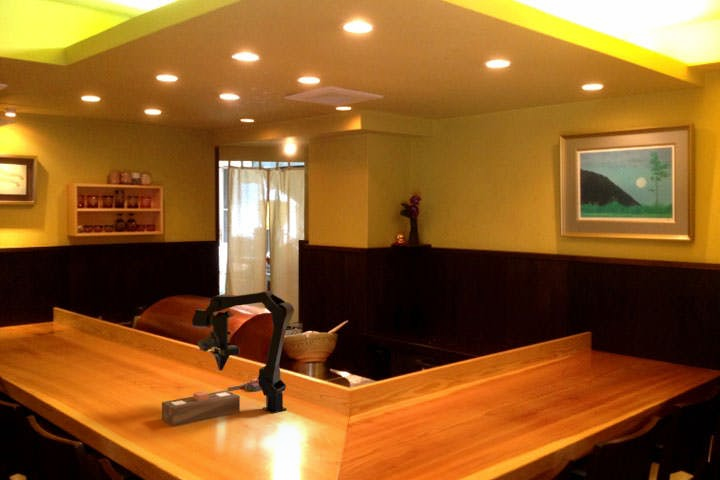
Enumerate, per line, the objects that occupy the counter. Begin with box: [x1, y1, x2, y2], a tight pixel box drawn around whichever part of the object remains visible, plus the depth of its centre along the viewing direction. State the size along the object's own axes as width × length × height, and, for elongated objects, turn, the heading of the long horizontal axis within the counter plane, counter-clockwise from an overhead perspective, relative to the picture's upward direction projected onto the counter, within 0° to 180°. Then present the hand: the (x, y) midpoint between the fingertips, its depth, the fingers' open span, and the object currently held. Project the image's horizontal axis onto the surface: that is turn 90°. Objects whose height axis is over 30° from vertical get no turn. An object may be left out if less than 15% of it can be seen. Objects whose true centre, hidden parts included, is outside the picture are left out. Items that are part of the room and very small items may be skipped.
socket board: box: [161, 389, 241, 427], centre depth 246 cm, size 10×25×6 cm, turn 129°
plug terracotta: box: [192, 390, 210, 402], centre depth 246 cm, size 4×4×6 cm
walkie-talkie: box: [227, 378, 262, 393], centre depth 283 cm, size 9×4×20 cm
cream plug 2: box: [215, 392, 231, 397], centre depth 252 cm, size 4×4×6 cm
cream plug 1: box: [171, 400, 187, 406], centre depth 241 cm, size 4×4×6 cm
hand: (220, 370), depth 259 cm, fingers closed
